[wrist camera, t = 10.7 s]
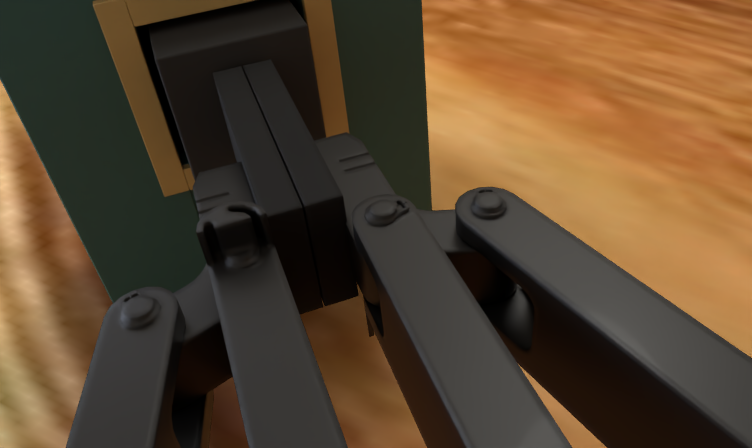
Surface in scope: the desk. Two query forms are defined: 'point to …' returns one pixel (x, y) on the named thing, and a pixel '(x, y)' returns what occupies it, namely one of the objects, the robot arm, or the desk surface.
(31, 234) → the desk surface
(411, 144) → the teal green box
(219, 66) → the button
